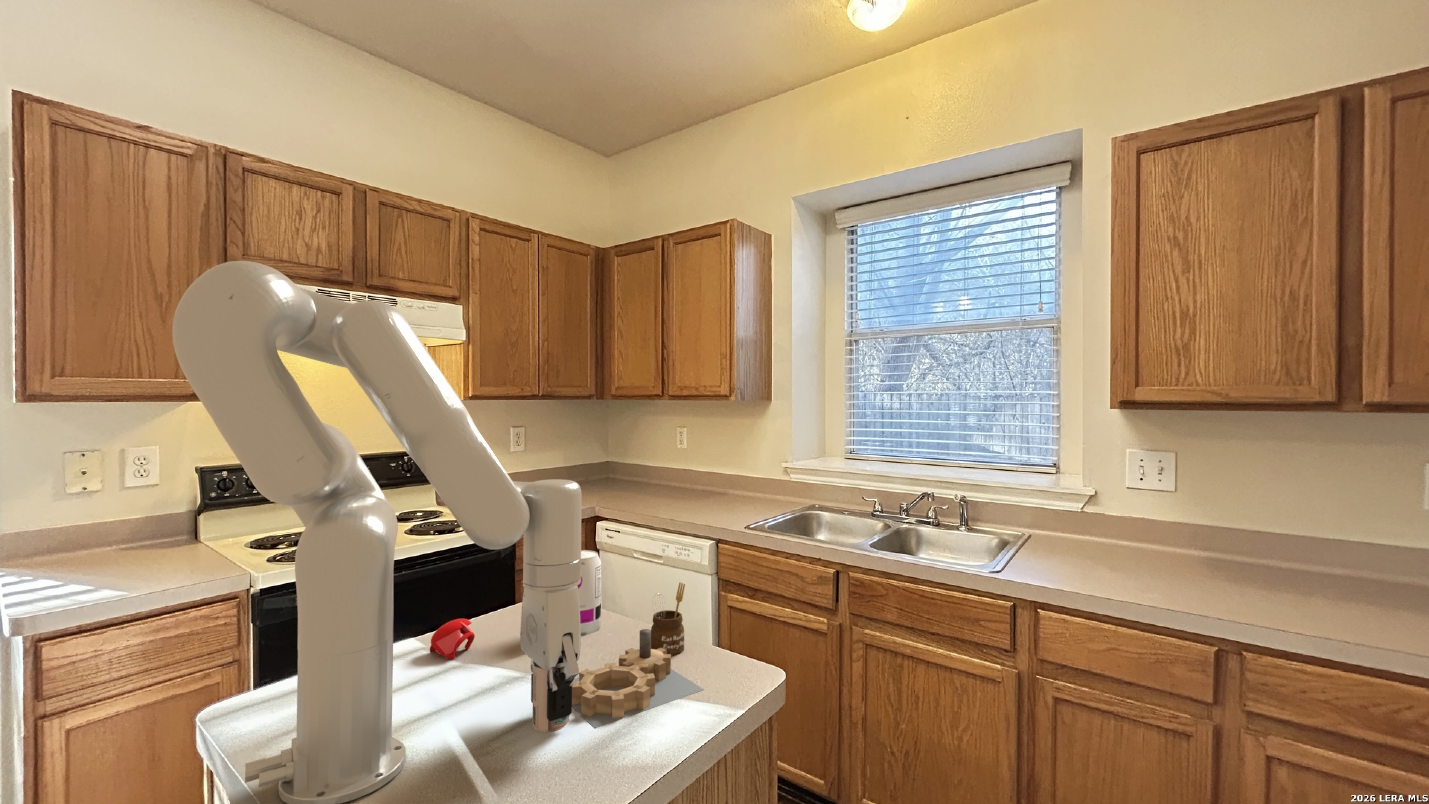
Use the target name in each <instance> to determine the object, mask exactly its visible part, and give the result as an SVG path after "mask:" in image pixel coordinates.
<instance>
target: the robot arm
mask: <svg viewBox="0 0 1429 804" xmlns="http://www.w3.org/2000/svg"><path fill="white" fill-rule="evenodd" d="M172 320H173V321H172V344H173V348H174V353H175V355H176V359H177V362H178V364H179V367H180V369H181V370H182V373H183V375H184V377H185V378H186V380H187V382H188V384H189V385H190V387H191V389H192V390H193V392H194V393H195V395H196V396H197V398H198V399H199V401H200V403H201V404H202V406H203V407H204V409H205V411H206V412H207V413H208V414H209V417H210V418H211V419H212V421H213V423H214V425H215V426H216V428H217V429H218V431H219V433H220V435H221V436H222V437H223V439H224V441H225V442H226V443H227V445H228V447H229V449H231V451H232V452H233V454H234V455H235V458H237V460H238V462H239V463H240V465H241V466H242V467H243V469H244V471H245V473H246V474H247V476H248V478H249V480H250V481H251V483H252V485H253V486H254V487H255V488H256V490H257V491H258V493H260V495H262V496H263V497H265V498H266V499H267V500H268V501H271V502H274V503H275V504H279V505H282V506H288V507H289V506H291V508H292V509H293V511H294V512H295V513H296V515H297V517H298V518H299V520H300V521H301V522H302V524H303V526H304V527H305V528H304V530H303V531H302V532H301V535H300V537H299V540H298V542H297V546H296V551H295V556H294V557H295V559H294V573H295V574H294V575H295V577H294V578H295V586H296V588H295V589H296V600H297V601H296V602H297V679H296V680H297V682H296V683H297V690H296V691H297V694H296V737H293V738H292V739H291V747H289V748H287V749H283V750H280V754H277V755H274V756H269V757H262V758H259V759H256V760H252V761H249V762H246V763H245V766H244V767H245V768H244V769H245V771H244V774H245V776H244V783H249V782H253V781H256V780H258V788H263V787H265V786H269V785H273V784H274V783H276V782H278V795H279V796H278V797H279V798H280V800H281V801H282V802H284V803H286V804H345V803H348V802H350V801H353V800H356V799H360V798H361V797H362V798H363V797H364V796H366V795H368V794H371V793H372V792H375V791H376V790H378V789H380V788H381V787H383V786H384V785H386V784H387V783H389V782H390V781H392V779H394V778H395V777H396V776H397V775H398V774H399V773H400V771H401V770H402V769H403V767H404V765H405V764H406V758H407V752H406V751H407V750H406V746H405V744H404V743H403V742H402V741H400V740H399V739H397V738H395V737H392V736H393V735H392V733H393V727H392V726H393V676H394V675H393V671H394V670H393V669H394V668H393V667H394V664H393V663H394V660H393V659H394V568H395V567H394V565H395V548H396V542H397V536H398V528H399V527H398V526H399V525H398V519H397V518H398V517H397V515H396V513H395V510H394V509H393V507H392V505H391V503H390V501H389V500H388V499H387V497H386V495H385V494H384V492H383V490H382V489H381V487H380V486H379V484H378V483H377V481H376V479H375V478H374V476H373V475H372V473H371V471H370V470H369V469H368V467H367V464H365V462H364V459H363V458H362V456H361V455H360V454H359V452H358V450H357V448H355V446H354V444H353V443H352V442H351V441H350V439H349V438H348V437H347V436H346V434H344V433H343V432H342V431H341V430H340V429H338V428H336V427H335V426H332V425H330V424H327V423H325V422H322V421H321V419H320V418H319V416H318V415H317V414H316V412H315V410H314V409H313V408H312V406H311V405H310V403H309V401H308V400H307V399H306V397H305V395H304V394H303V392H302V390H301V388H300V386H299V384H298V383H297V381H296V380H295V378H294V376H293V375H292V373H291V372H290V371H289V370H288V369H287V367H286V366H285V364H284V363H283V361H282V359H281V357H280V355H279V352H282V353H283V352H284V353H287V354H291V355H294V356H295V355H296V356H299V357H302V358H305V359H309V360H313V361H317V362H321V363H326V364H329V365H333V366H336V367H337V366H338V367H341V368H345V369H347V370H348V371H349V373H350V375H352V377H353V378H354V379H355V381H356V382H357V384H358V386H360V388H361V389H362V390H363V392H364V393H365V395H366V396H367V397H368V399H369V400H370V402H371V403H372V405H374V407H375V409H376V410H377V412H378V413H379V414H380V417H382V419H383V420H384V422H385V424H386V425H387V426H388V427H389V429H390V430H391V432H392V433H393V435H394V436H395V438H396V439H397V440H398V441H399V443H400V446H401V447H402V448H403V449H404V451H405V452H406V454H408V456H409V457H410V458H411V459H412V460H413V462H414V463H415V464H416V465H417V466H418V467H419V469H420V470H421V472H422V474H424V476H425V477H426V479H427V480H428V482H429V483H430V484H431V486H432V487H433V489H434V490H435V492H436V493H437V495H438V496H439V498H440V499H441V501H442V502H443V503H444V505H445V506H446V507H447V509H448V510H449V512H450V513H451V515H452V516H453V517H454V519H455V520H456V521H457V523H458V525H460V527H461V528H462V530H463V531H464V533H465V534H466V535H467V537H468V538H469V539H470V540H471V541H472V542H473V543H474V544H475V545H477V546H479V547H482V548H483V549H487V550H502V549H506V548H509V547H510V546H512V545H514V544H516V543H517V542H518V541H519V540H521V538H522V537H523V553H522V555H523V556H522V558H523V562H522V565H523V568H522V571H523V573H522V575H523V576H522V587H523V593H522V602H521V603H522V605H521V616H520V617H521V618H520V631H519V633H520V635H519V646H520V649H521V650H522V652H523V653H524V654H525V655H526V656H527V657H528V658H529V659H531V660H530V672H531V677H530V678H531V679H530V680H531V681H530V683H531V684H530V701H531V703H532V704H533V661H534V662H535V663H536V664H537V665H539V666H540V667H541V668H542V669H544V670H549V679H550V689H547V719H548V720H549V721H553V720H556V719H559V718H562V717H565V716H569V717H570V716H571V715H572V713H573V708H572V686H573V683H574V681H573V680H574V679H575V678H577V676H578V675H579V673H580V669H579V668H580V667H579V665H578V660H579V659H580V655H581V645H582V639H581V637H582V636H581V625H580V606H579V595H578V586H577V585H579V584H580V583H581V550H582V506H583V505H582V502H583V501H582V498H583V496H582V489H581V486H580V484H579V483H577V482H576V481H574V480H570V479H564V478H563V479H560V478H558V479H557V478H556V479H555V478H554V479H553V478H552V479H541V480H534V481H516V480H512V478H511V477H510V475H509V474H508V473H507V471H506V470H505V467H504V466H503V465H502V464H501V462H500V461H499V459H498V458H497V457H496V455H495V453H494V452H493V450H492V449H491V447H490V446H489V444H488V443H487V441H486V440H485V439H484V437H483V436H482V434H481V432H480V431H479V429H478V428H477V426H476V425H475V423H474V420H473V418H472V416H471V415H470V413H469V411H468V409H467V408H466V406H465V405H464V403H463V401H462V400H461V397H460V396H459V395H458V393H457V392H456V391H455V389H454V388H453V387H452V385H451V383H449V381H448V379H447V378H446V376H445V375H444V374H443V372H442V371H441V369H440V368H439V366H438V364H437V363H436V362H435V360H434V359H433V357H432V356H431V354H430V353H429V352H428V350H427V348H426V346H425V345H424V344H423V343H422V341H421V339H420V338H419V336H418V335H417V334H416V332H415V331H414V329H413V328H412V326H411V324H410V322H408V320H407V319H406V318H405V316H404V315H403V314H402V313H401V312H400V311H399V310H398V309H396V308H395V307H394V306H392V305H390V304H389V303H386V302H383V301H379V300H361V301H356V302H354V303H352V302H348V301H346V300H345V301H344V300H341V299H338V298H335V297H334V298H333V297H330V296H328V295H325V294H321V293H318V292H315V291H312V290H310V289H306V288H303V287H300V286H298V285H297V284H296V283H295V282H293V281H292V280H291V279H290V278H289V277H288V276H286V275H285V274H284V273H282V272H281V271H279V270H277V269H275V268H273V267H271V266H270V265H266V264H262V263H259V262H256V261H251V260H232V261H231V260H230V261H226V262H223V263H220V264H216V265H215V266H213V267H211V268H209V269H207V270H206V271H204V272H203V273H202V274H200V276H198V277H197V278H196V279H195V280H194V281H193V282H191V284H190V285H189V286H188V288H187V289H185V291H184V293H183V295H182V297H181V298H180V300H179V302H178V304H177V307H176V309H175V312H174V316H173V319H172ZM278 351H279V352H278ZM559 658H563V661H561V662H558V663H557V661H558V659H559ZM563 667H565V668H564V670H563V672H562V673H559V675H558V677H557V675H556V669H559V668H563Z"/></svg>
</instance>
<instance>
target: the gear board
mask: <svg viewBox="0 0 1429 804" xmlns="http://www.w3.org/2000/svg"><path fill="white" fill-rule="evenodd" d="M573 681H574V682H578V681H579V677H575V678H574V680H573ZM625 688H628V687H614V686H611V687H607V688H604V689H601V690H606V691H619V690H622V689H625ZM703 691H705V689H704V688H703V687H701V686H699V685H698V684H696V683H695V682H693V681H691V679H689V678H687V677H685V676H683V675H682V674H680V673H678V672H677V671H675V670H674V669H672V668H671V674H666V679H663V680H661V681H657V680H655V695H651V696H650V706H648V707H647V708H646V709H644V710H641V709H638V708H635V709H632V710H629V711H626V712H624V717H620V718H612V715H611V714H603V713H595V714H594V715H592V716H591V717H589V716H586V715H583V714H581V704H576V705H572V709H573V710H575V711H576V712H577V714H579V715H580V716H581V717H582V718H583V719H584V720H585V721H586V722H587V723H589V724H590V726H592V728H594V729H597V728H600V727H603V726H605V725H609V724H611V723H614V722H617V721H619V720H623V719H625V718H629V717H631V716H635V715H637V714H640V713H642V712H645V711H648V710H651V709H654V708H657V707H660V706H662V705H666V704H669V703H671V702H674V701H677V700H680V699H683V698H685V697H688V696H691V695H694V694H697V693H699V692H703Z"/></svg>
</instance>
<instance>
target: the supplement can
mask: <svg viewBox="0 0 1429 804" xmlns="http://www.w3.org/2000/svg"><path fill="white" fill-rule="evenodd" d="M600 558H601V557H600V556H599V553H598V552H597V551H594V550H590V549H589V550H587V549H583V550H582V549H581V583H580V584H579V585H577V586H578V595H579V606H580V625H581V637H583V636H587V635H590V634H593V633H596V632H599V631H600V630H601V623H602V622H601V621H602V620H601V619H602V613H601V612H602V611H601V610H602V604H601V601H602V561H601V559H600Z"/></svg>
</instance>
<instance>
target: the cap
mask: <svg viewBox="0 0 1429 804" xmlns="http://www.w3.org/2000/svg"><path fill="white" fill-rule="evenodd" d="M469 625H472V622H471V620H469V619H467V618H457V619H452V620H449V621H447V622H446V623H444V624H442V625H441V626H439V628H437V629H436V631H435V632H434V633H433V635H432V636H431V638H430V647H429V653H430V654H433V653H435V652H437V653H438V655H441V656H442V657H445V659H446V660H455V659H456V652H457V651H458V649H459V647H460V646H461V645H462V644H463V643H465V641H466V640H467V641H466V643H465V645H464V649H465V650H469V649H470V648H471V646H472V644H473V642H474V640H475V637H476V636H475V633H474V632H473V630H472V629H471V628H470V626H469ZM461 634H462V636H461Z"/></svg>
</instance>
